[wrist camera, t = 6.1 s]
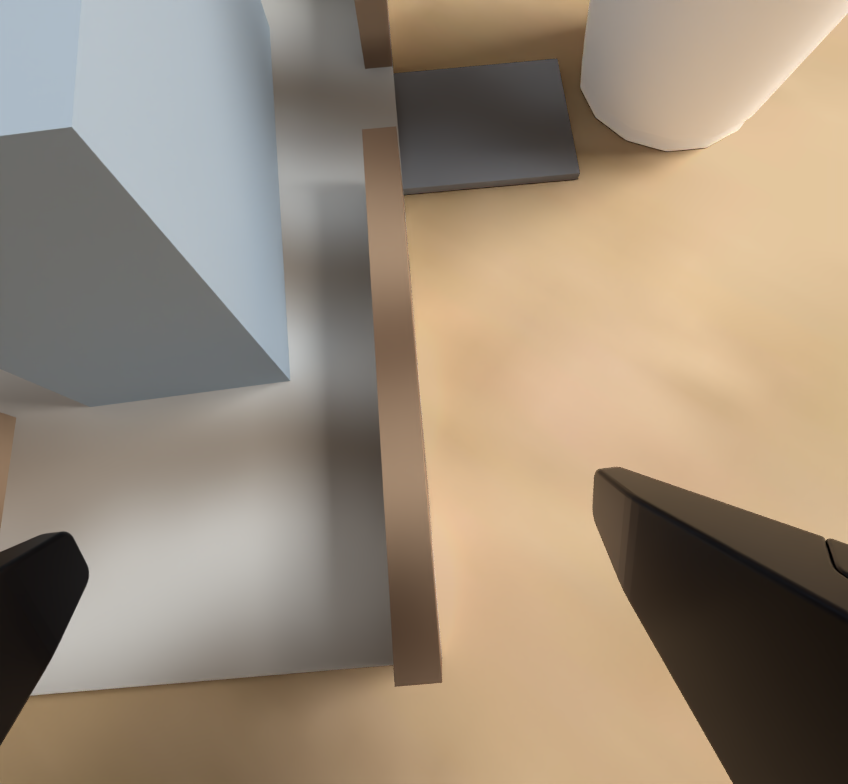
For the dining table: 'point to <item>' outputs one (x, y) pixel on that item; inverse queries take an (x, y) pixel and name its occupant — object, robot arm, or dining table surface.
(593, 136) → the dining table surface
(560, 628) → the dining table surface
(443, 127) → the lane
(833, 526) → the dining table surface
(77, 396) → the slate box
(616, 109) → the foam cup
